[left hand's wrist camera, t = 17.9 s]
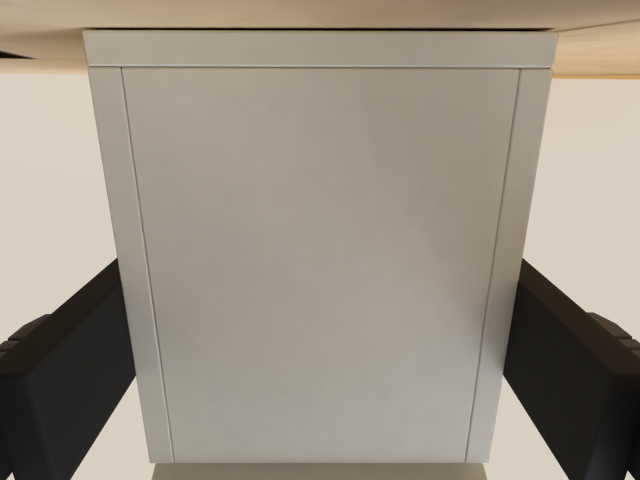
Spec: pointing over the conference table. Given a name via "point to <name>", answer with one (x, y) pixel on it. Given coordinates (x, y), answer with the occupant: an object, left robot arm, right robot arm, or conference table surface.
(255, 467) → the lid
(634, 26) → the conference table surface
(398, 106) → the chest
